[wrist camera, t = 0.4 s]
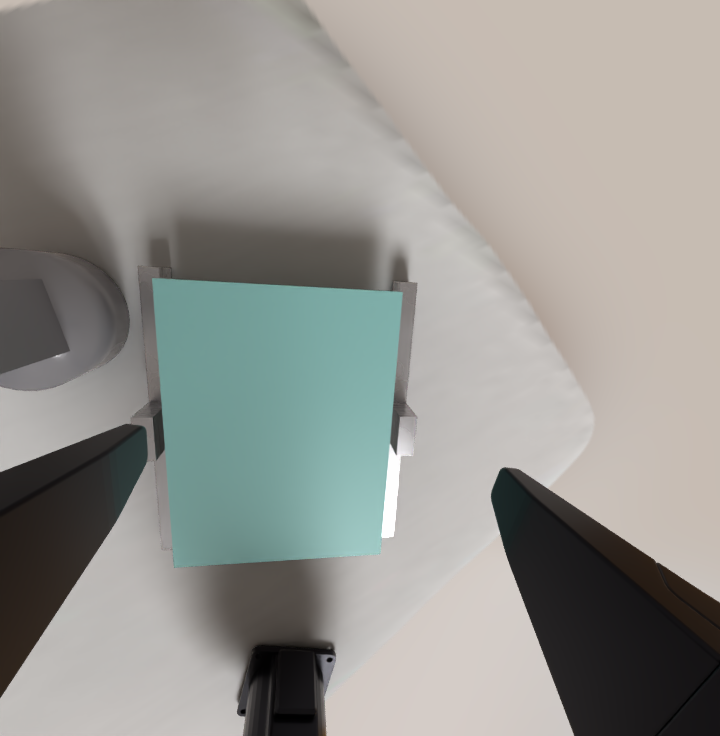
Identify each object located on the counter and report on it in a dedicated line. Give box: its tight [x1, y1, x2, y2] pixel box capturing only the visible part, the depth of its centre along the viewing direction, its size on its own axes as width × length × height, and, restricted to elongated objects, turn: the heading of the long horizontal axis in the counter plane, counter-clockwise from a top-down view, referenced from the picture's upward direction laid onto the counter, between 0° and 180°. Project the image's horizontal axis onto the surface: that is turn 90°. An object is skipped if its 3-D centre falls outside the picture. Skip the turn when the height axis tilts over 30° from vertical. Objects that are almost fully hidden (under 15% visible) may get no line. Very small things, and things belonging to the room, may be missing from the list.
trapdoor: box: [152, 278, 403, 568], centre depth 21 cm, size 16×12×2 cm
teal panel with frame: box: [131, 266, 417, 550], centre depth 22 cm, size 17×15×4 cm
